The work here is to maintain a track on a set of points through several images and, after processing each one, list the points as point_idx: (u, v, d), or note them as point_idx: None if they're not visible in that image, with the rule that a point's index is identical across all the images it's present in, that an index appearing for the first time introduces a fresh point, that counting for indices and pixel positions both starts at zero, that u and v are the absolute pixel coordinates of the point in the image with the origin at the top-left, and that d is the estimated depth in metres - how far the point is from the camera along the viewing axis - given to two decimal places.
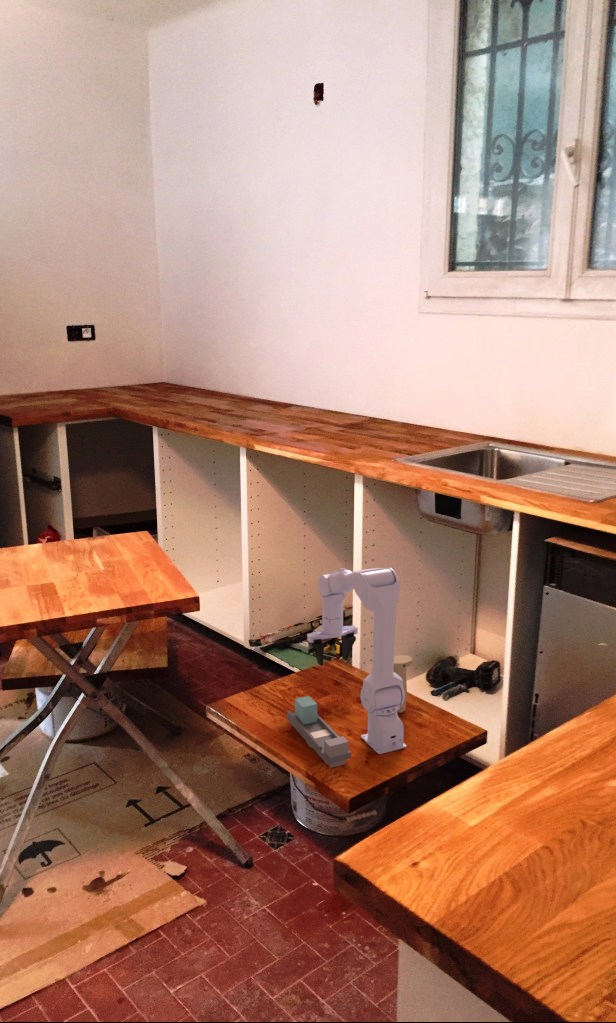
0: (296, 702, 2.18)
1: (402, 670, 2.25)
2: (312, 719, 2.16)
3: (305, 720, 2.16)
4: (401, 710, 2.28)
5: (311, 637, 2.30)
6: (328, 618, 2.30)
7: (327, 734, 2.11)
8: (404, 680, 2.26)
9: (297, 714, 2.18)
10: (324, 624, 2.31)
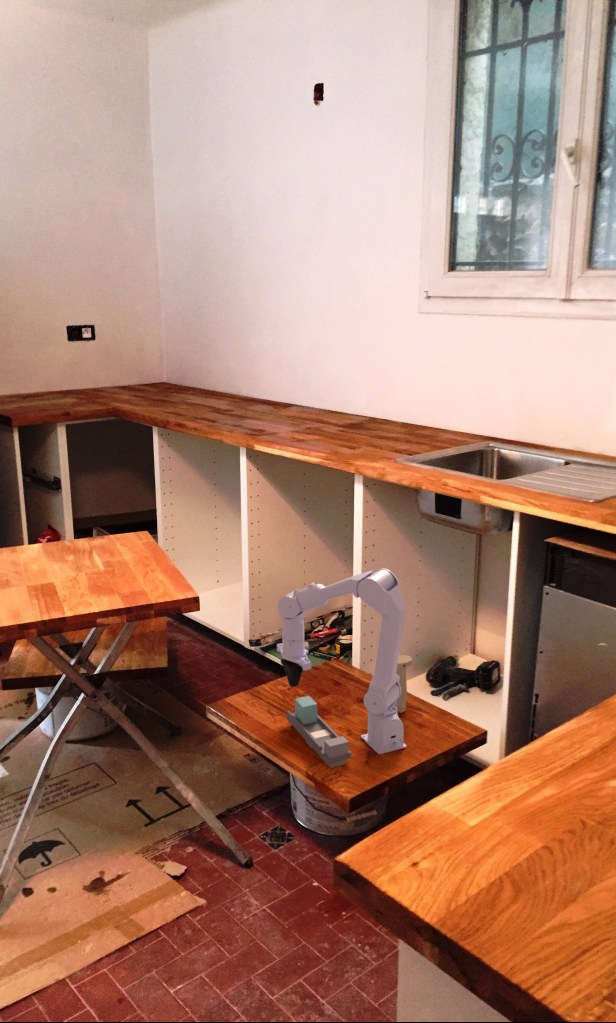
0: (296, 702, 2.18)
1: (402, 670, 2.25)
2: (312, 719, 2.16)
3: (305, 720, 2.16)
4: (401, 710, 2.28)
5: (277, 645, 2.27)
6: (295, 640, 2.17)
7: (327, 734, 2.11)
8: (404, 680, 2.26)
9: (297, 714, 2.18)
10: None
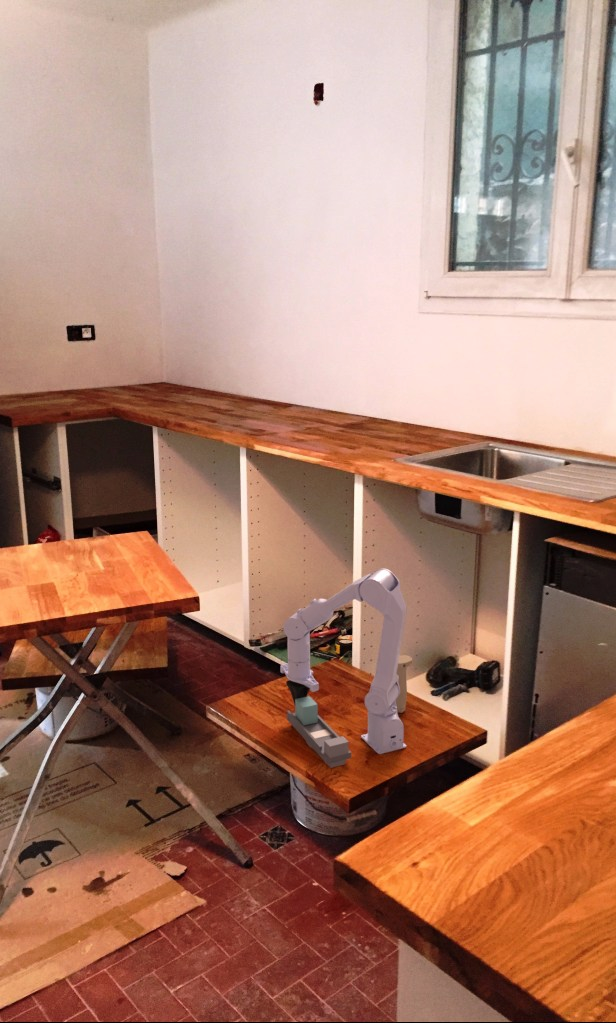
0: (296, 702, 2.18)
1: (402, 670, 2.25)
2: (312, 719, 2.16)
3: (305, 720, 2.15)
4: (401, 710, 2.28)
5: (281, 667, 2.24)
6: (301, 661, 2.16)
7: (327, 734, 2.11)
8: (404, 680, 2.26)
9: (298, 715, 2.18)
10: None
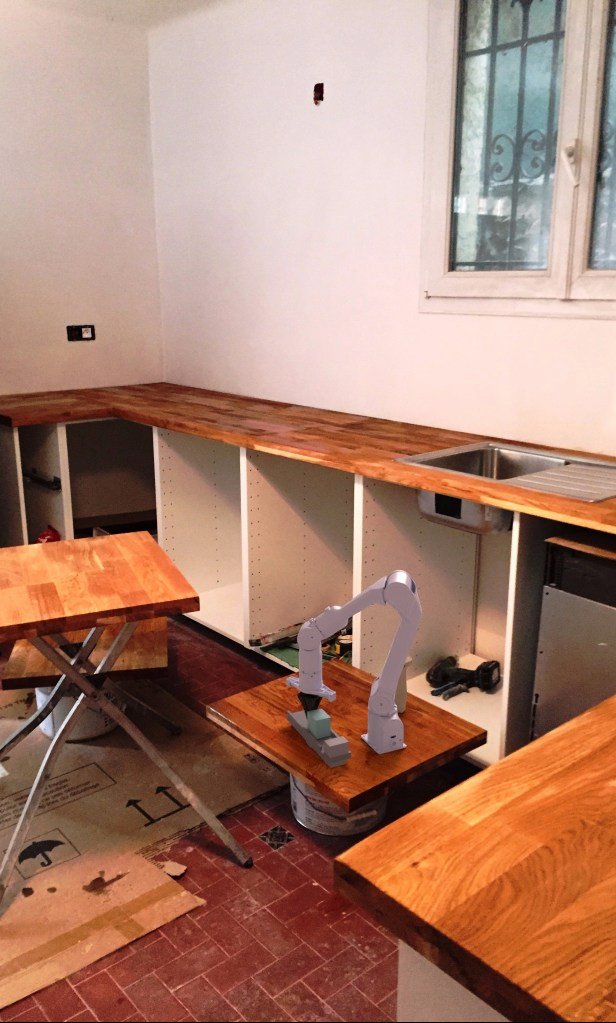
0: (309, 715, 2.11)
1: (402, 670, 2.25)
2: (325, 733, 2.10)
3: (318, 734, 2.09)
4: (401, 710, 2.28)
5: (287, 680, 2.17)
6: (316, 672, 2.10)
7: None
8: (404, 680, 2.26)
9: (310, 728, 2.11)
10: None
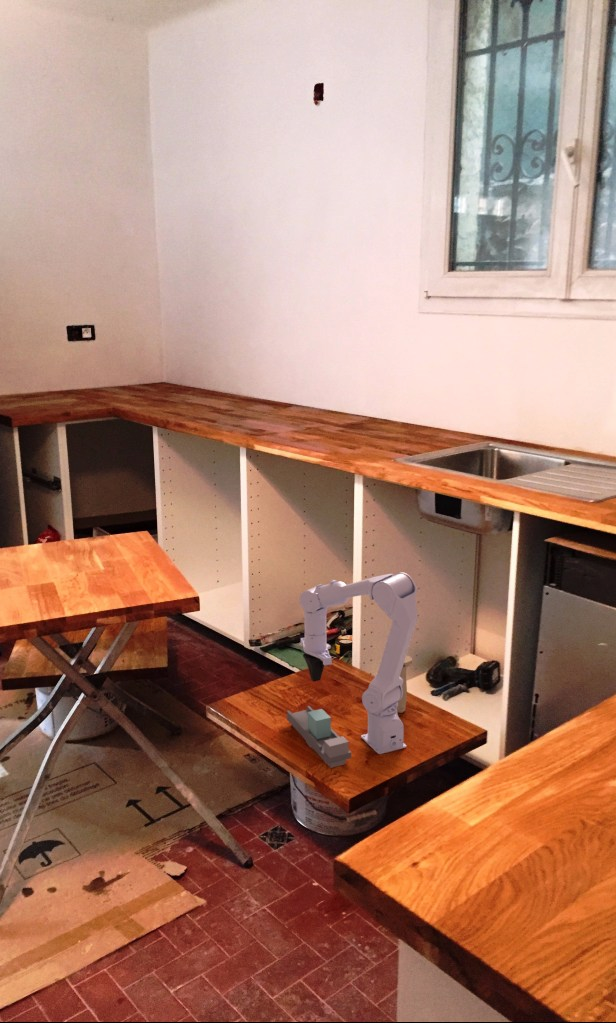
0: (309, 715, 2.11)
1: (402, 670, 2.25)
2: (325, 733, 2.09)
3: (318, 734, 2.09)
4: (401, 710, 2.28)
5: (301, 640, 2.28)
6: (315, 635, 2.18)
7: None
8: (404, 680, 2.26)
9: (310, 728, 2.11)
10: None
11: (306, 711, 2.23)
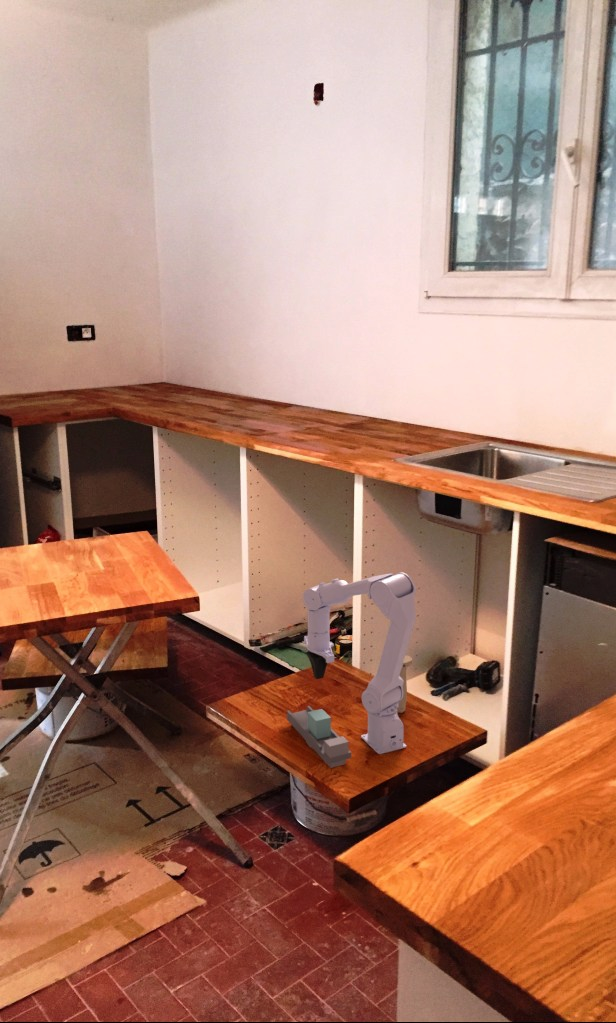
0: (309, 715, 2.11)
1: (402, 670, 2.25)
2: (325, 733, 2.09)
3: (318, 734, 2.09)
4: (401, 710, 2.28)
5: (304, 638, 2.29)
6: (318, 633, 2.19)
7: None
8: (404, 680, 2.26)
9: (310, 728, 2.11)
10: None
11: (306, 711, 2.23)
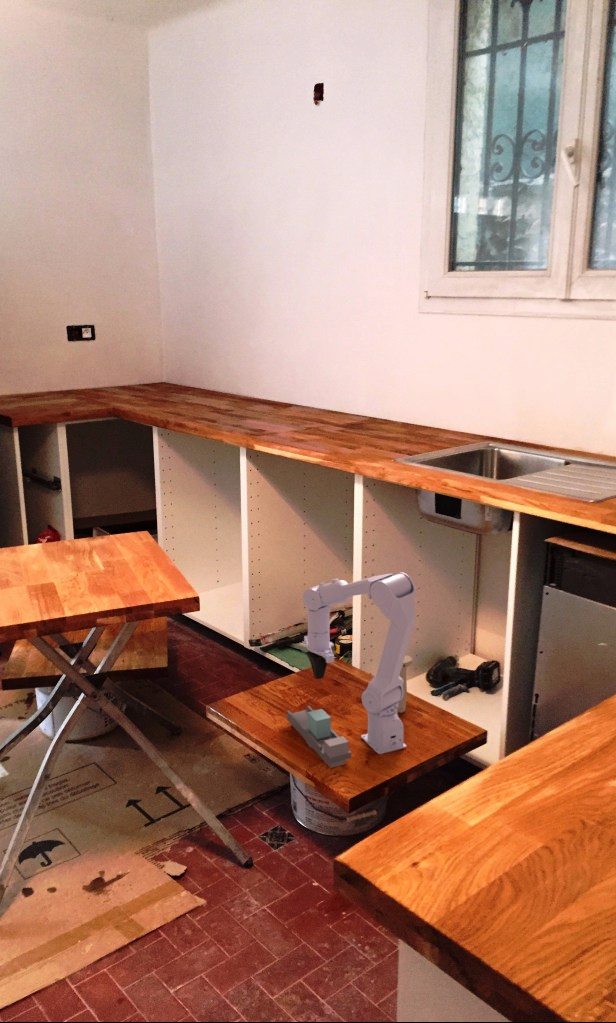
0: (309, 715, 2.11)
1: (402, 670, 2.25)
2: (325, 733, 2.09)
3: (318, 734, 2.09)
4: (401, 710, 2.28)
5: (304, 638, 2.29)
6: (318, 633, 2.19)
7: None
8: (404, 680, 2.26)
9: (310, 728, 2.11)
10: None
11: (306, 711, 2.23)
